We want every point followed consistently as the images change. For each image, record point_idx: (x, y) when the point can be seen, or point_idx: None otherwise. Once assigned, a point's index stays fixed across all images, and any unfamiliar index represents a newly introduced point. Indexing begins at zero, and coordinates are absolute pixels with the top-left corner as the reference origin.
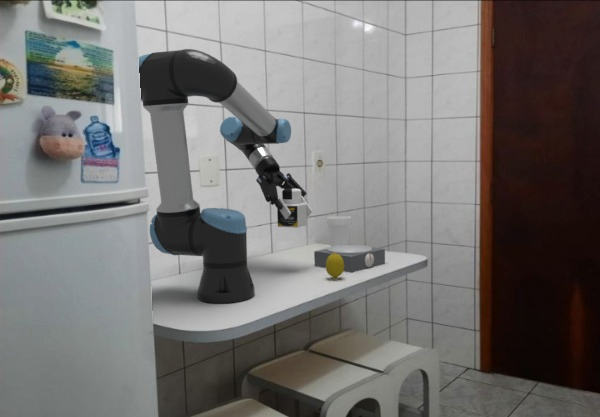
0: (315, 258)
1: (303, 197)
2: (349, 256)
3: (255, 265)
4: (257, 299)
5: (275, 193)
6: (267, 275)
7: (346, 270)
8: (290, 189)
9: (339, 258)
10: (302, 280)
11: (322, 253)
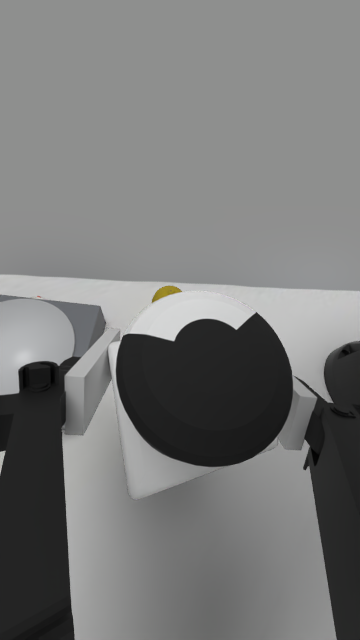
0: None
1: (73, 366)
2: (98, 309)
3: (159, 632)
4: (333, 338)
5: (357, 436)
6: None
7: (102, 332)
8: (260, 324)
9: (173, 286)
10: None
11: None
